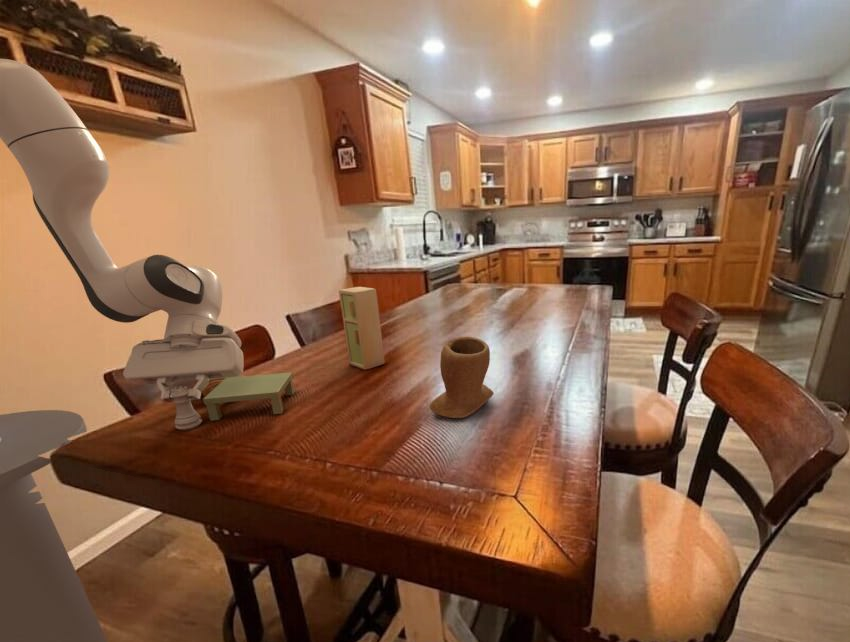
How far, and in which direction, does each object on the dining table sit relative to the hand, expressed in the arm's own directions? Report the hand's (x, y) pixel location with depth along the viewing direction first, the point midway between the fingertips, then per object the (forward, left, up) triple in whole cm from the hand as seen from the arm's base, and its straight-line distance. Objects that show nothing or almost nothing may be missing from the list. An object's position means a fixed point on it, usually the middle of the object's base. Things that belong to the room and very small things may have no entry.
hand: (180, 399), depth 78 cm
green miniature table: (+10, +8, -6) cm, 14 cm away
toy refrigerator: (+32, +30, -6) cm, 44 cm away
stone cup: (+55, -4, -6) cm, 55 cm away
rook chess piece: (0, +1, -6) cm, 6 cm away
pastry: (-1, +18, -6) cm, 19 cm away
